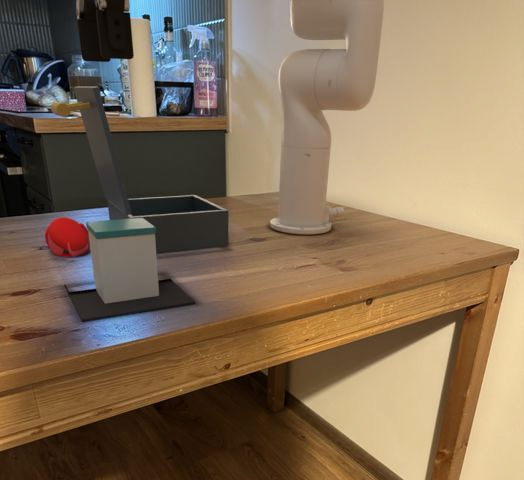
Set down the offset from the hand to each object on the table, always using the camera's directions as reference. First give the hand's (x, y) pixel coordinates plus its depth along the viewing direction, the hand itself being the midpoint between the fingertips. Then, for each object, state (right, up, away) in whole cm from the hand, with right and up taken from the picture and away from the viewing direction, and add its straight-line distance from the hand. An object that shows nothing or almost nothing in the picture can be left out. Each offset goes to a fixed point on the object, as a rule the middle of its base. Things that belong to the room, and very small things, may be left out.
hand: (106, 60), depth 54 cm
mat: (-1, -24, +12) cm, 27 cm away
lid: (-7, 0, +23) cm, 24 cm away
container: (-1, -24, +11) cm, 27 cm away
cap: (-14, -17, +26) cm, 34 cm away
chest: (0, -13, +34) cm, 37 cm away
